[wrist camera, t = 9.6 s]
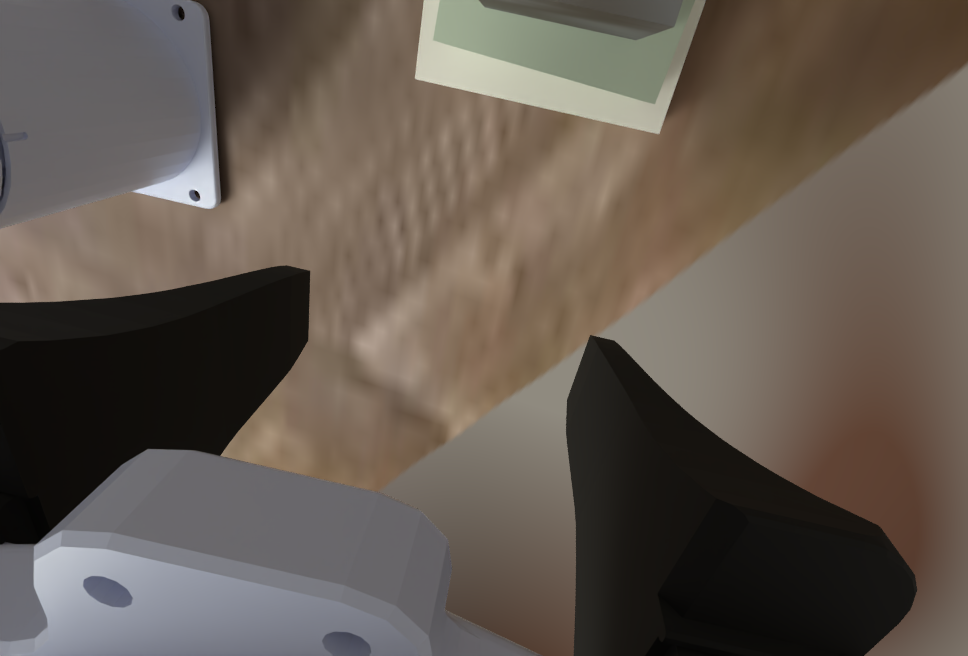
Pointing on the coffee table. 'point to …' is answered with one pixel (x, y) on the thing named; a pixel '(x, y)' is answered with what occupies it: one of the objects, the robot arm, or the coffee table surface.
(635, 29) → the slate cube
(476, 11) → the tower top slab
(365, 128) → the coffee table surface
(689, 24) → the tower base slab
